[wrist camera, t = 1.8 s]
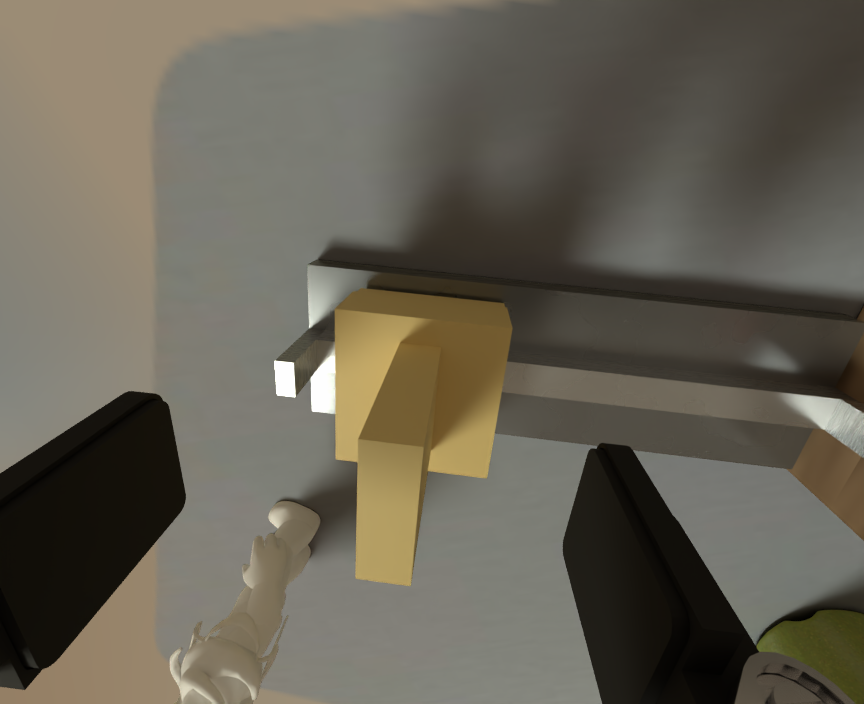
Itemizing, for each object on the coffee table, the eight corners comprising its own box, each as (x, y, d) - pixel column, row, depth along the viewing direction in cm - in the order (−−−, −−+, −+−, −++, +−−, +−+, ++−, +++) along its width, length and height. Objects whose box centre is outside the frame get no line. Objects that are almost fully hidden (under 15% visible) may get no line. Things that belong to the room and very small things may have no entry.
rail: (844, 314, 15) (966, 359, 11) (774, 453, 17) (857, 529, 13) (316, 259, 16) (269, 285, 12) (320, 399, 18) (281, 456, 14)
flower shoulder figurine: (307, 599, 23) (158, 985, 12) (240, 575, 23) (24, 947, 12) (357, 482, 20) (211, 875, 9) (278, 452, 19) (22, 818, 8)
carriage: (504, 299, 14) (537, 421, 7) (484, 427, 16) (494, 623, 9) (360, 283, 15) (252, 388, 7) (358, 412, 17) (272, 591, 9)
